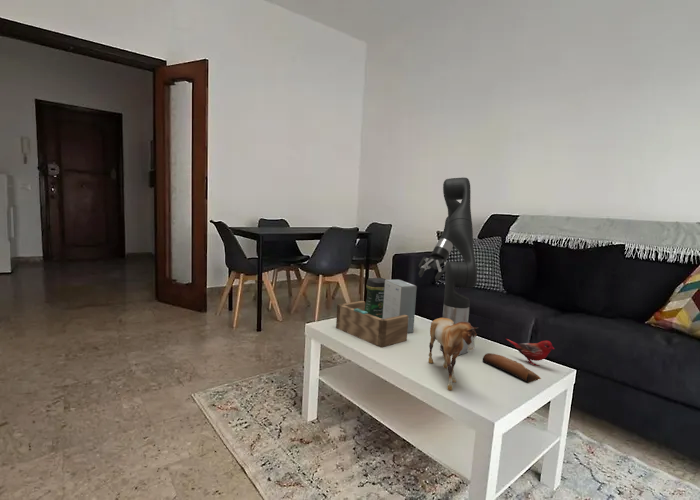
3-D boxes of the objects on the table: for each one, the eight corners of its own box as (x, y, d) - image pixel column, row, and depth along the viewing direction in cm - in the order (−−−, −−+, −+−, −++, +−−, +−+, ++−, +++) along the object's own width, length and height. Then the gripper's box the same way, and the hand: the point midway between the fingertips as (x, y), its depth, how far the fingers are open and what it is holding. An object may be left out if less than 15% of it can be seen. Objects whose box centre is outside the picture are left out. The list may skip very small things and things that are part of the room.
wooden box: (406, 340, 158) (408, 314, 157) (381, 347, 149) (383, 319, 148) (360, 322, 178) (362, 299, 177) (336, 327, 169) (337, 303, 168)
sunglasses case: (543, 378, 129) (539, 362, 127) (530, 392, 126) (525, 377, 124) (498, 358, 145) (493, 344, 142) (485, 370, 142) (480, 356, 140)
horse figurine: (473, 397, 113) (479, 327, 111) (445, 397, 113) (452, 325, 111) (443, 355, 144) (448, 299, 142) (421, 355, 144) (426, 298, 141)
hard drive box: (414, 333, 168) (417, 286, 166) (397, 334, 166) (401, 286, 163) (396, 322, 183) (399, 278, 180) (381, 323, 180) (384, 279, 177)
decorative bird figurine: (550, 372, 134) (553, 343, 133) (501, 355, 148) (504, 328, 147) (554, 370, 136) (557, 342, 135) (505, 353, 150) (508, 327, 149)
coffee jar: (369, 320, 183) (372, 280, 181) (361, 315, 190) (364, 276, 188) (388, 318, 187) (390, 279, 185) (379, 313, 194) (382, 276, 192)
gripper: (426, 243, 194) (411, 270, 189) (453, 248, 185) (438, 277, 179) (431, 252, 199) (417, 279, 194) (458, 257, 190) (443, 286, 184)
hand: (427, 278), depth 186 cm, fingers open, 8 cm apart
